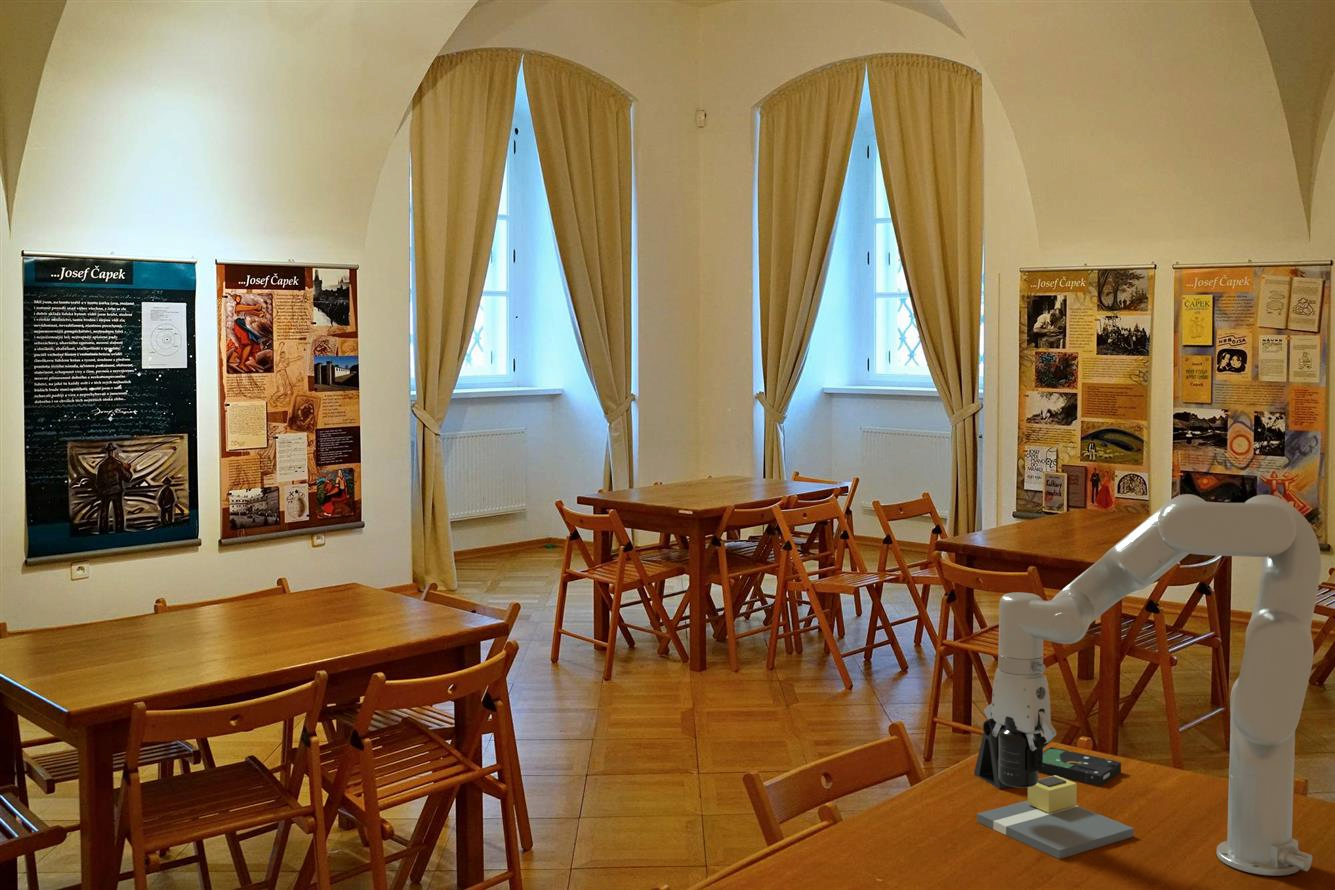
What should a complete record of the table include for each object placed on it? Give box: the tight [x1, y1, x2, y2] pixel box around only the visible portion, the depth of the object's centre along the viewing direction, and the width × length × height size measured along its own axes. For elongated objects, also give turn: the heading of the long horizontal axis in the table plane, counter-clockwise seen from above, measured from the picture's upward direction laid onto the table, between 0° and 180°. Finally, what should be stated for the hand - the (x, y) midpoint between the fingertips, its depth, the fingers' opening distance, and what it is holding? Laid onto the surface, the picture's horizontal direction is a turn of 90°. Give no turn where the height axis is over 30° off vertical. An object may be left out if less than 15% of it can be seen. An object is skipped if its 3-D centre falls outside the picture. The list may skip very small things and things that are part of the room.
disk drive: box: [1039, 746, 1122, 787], centre depth 251 cm, size 10×3×15 cm
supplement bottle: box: [999, 716, 1040, 788], centre depth 222 cm, size 7×7×12 cm
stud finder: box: [1027, 775, 1078, 813], centre depth 228 cm, size 5×7×4 cm
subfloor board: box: [976, 799, 1135, 860], centre depth 222 cm, size 19×18×2 cm
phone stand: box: [973, 719, 1013, 790], centre depth 246 cm, size 9×6×12 cm, turn 18°
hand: (1018, 763), depth 222 cm, fingers closed on supplement bottle, 6 cm apart
